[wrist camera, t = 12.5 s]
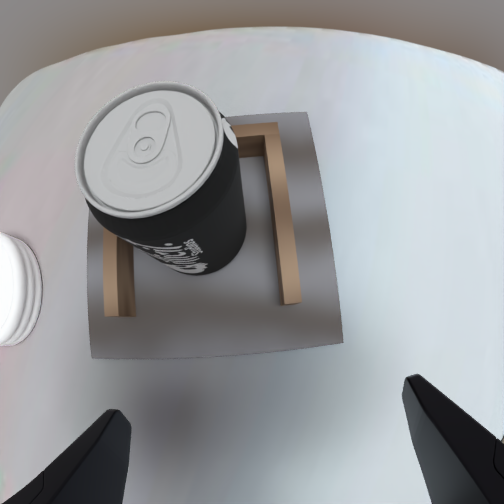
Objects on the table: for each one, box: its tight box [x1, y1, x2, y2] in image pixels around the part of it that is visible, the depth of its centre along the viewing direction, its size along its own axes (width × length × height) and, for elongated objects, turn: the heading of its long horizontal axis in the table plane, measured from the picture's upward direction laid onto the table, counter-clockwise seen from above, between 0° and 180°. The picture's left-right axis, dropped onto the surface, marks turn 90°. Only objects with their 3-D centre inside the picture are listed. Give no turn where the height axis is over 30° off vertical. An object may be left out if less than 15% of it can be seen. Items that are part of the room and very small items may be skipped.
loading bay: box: [87, 112, 343, 359], centre depth 21 cm, size 18×18×4 cm
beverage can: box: [74, 81, 247, 276], centre depth 16 cm, size 7×7×12 cm
